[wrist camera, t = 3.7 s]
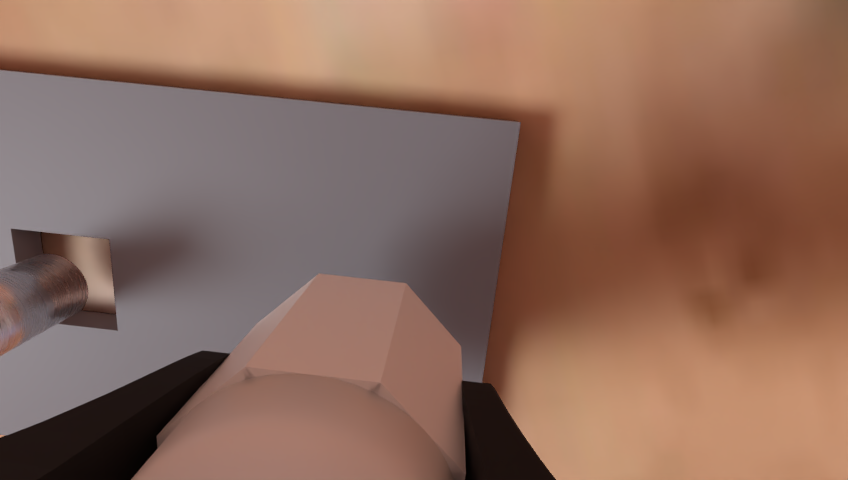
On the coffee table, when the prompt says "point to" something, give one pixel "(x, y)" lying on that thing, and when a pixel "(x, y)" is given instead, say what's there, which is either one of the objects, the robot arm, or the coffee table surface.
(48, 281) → the post
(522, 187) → the coffee table surface
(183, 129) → the board
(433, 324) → the knob
